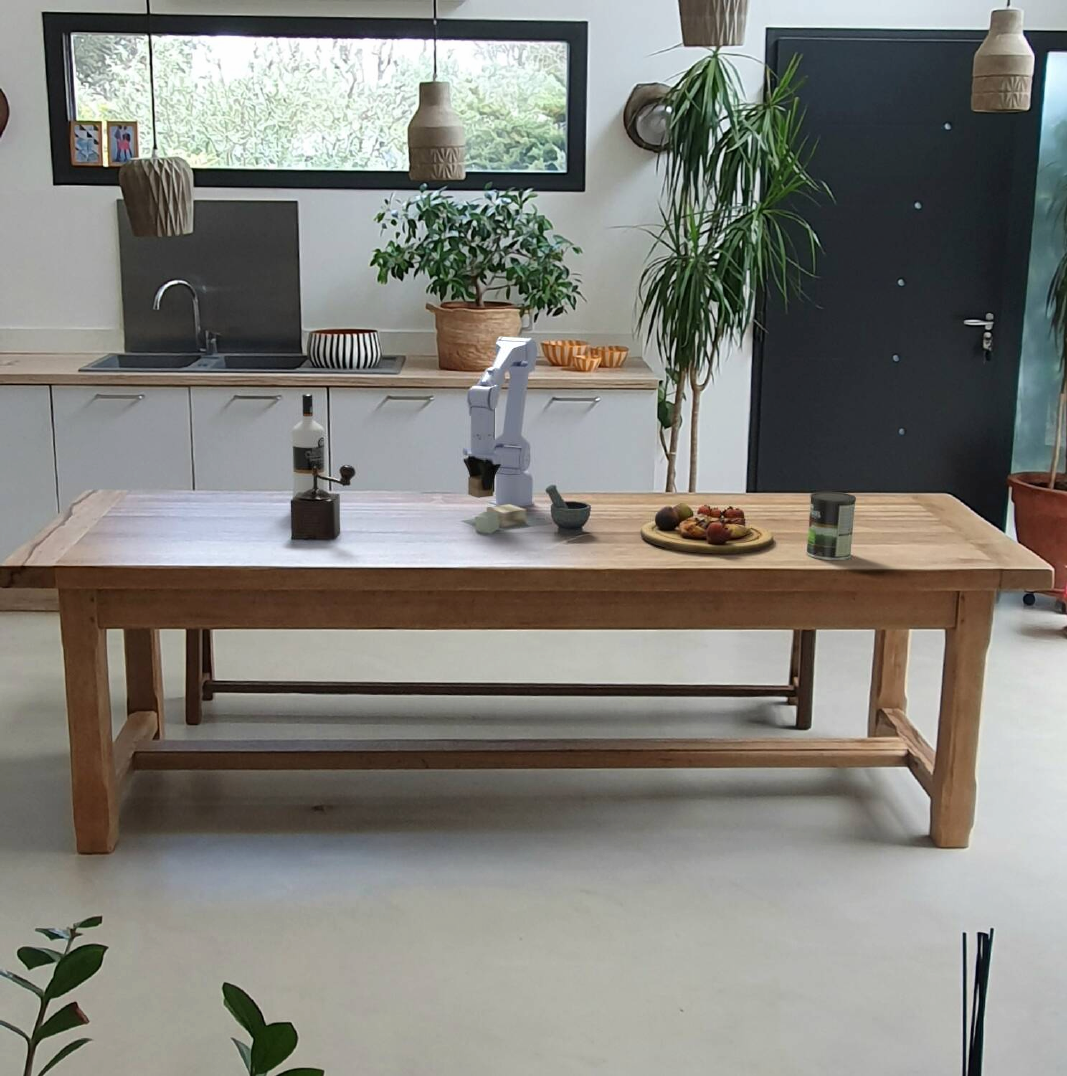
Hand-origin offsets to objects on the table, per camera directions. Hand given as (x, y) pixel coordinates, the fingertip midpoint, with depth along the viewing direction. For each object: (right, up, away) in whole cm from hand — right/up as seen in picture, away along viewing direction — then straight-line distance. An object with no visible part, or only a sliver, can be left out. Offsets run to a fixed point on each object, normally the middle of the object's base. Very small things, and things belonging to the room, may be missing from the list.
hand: (481, 487), depth 337 cm
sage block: (+2, -11, -9) cm, 14 cm away
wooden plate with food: (+55, -13, -11) cm, 58 cm away
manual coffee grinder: (-36, -12, -16) cm, 42 cm away
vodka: (-45, -6, +9) cm, 46 cm away
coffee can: (+82, -17, -24) cm, 87 cm away
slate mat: (+6, -9, 0) cm, 11 cm away
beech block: (+6, -9, 0) cm, 11 cm away
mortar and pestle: (+21, -12, -9) cm, 26 cm away
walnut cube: (0, -2, 0) cm, 2 cm away
